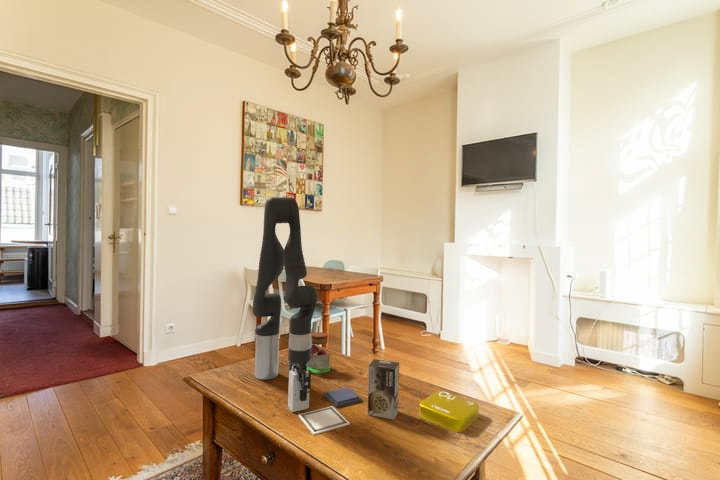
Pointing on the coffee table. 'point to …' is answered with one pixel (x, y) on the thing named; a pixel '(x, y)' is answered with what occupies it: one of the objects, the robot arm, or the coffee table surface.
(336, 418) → the marked card
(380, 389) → the coffee box
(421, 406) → the element tile
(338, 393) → the ink pad
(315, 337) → the multicoloured piece
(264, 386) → the coffee table surface
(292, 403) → the skincare box
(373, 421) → the coffee table surface
